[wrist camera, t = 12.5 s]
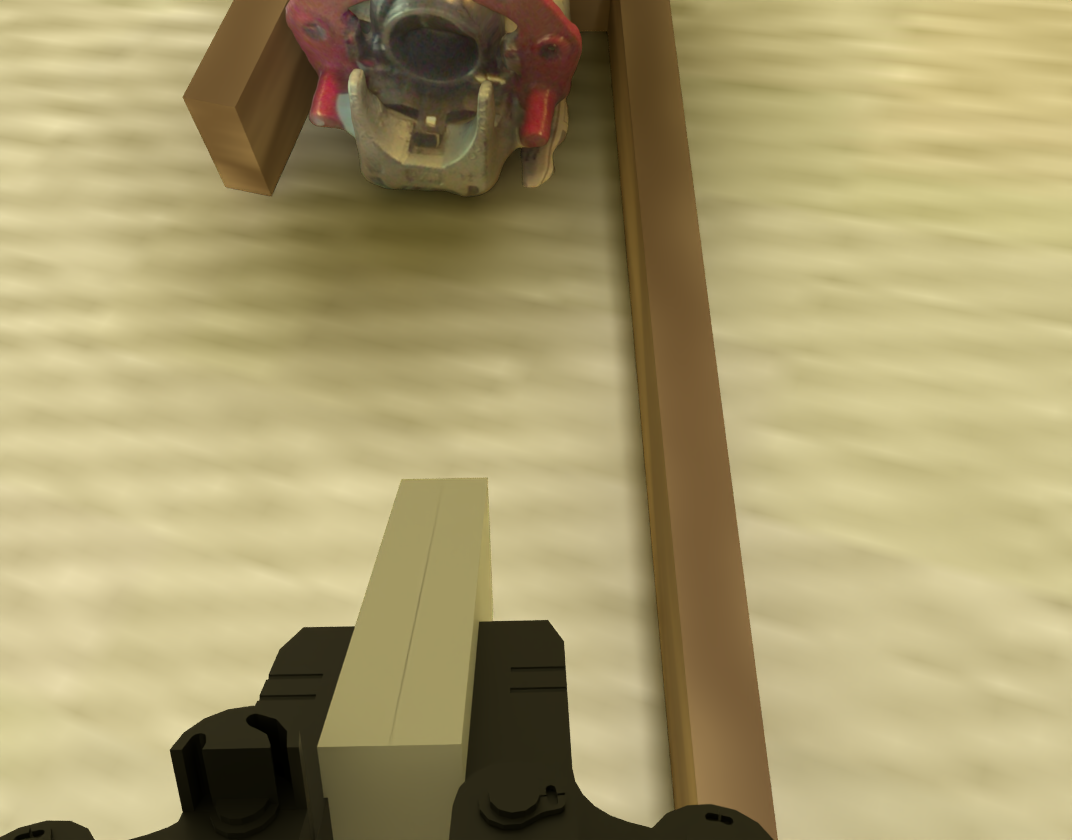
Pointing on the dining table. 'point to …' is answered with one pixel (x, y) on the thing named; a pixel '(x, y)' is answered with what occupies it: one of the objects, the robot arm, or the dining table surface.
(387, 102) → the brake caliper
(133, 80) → the dining table surface
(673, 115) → the brown wooden bar frame
